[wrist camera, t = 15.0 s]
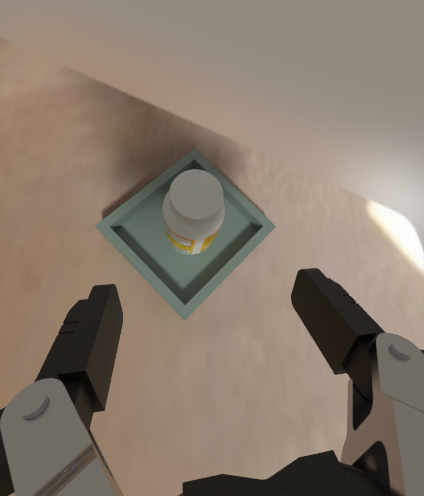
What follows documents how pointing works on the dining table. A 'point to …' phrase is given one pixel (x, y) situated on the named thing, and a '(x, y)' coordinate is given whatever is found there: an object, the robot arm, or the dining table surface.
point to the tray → (169, 259)
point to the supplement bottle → (193, 211)
